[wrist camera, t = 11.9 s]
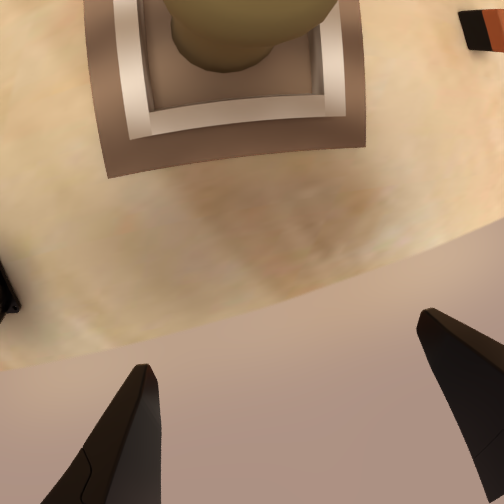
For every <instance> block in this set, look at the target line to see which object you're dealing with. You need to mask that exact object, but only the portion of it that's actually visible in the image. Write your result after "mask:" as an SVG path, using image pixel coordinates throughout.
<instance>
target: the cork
mask: <svg viewBox="0 0 504 504" xmlns="http://www.w3.org/2000/svg"><path fill="white" fill-rule="evenodd" d="M337 1H338V0H163V2H164V3H165V5H166V7H167V9H168V11H169V13H170V15H171V16H172V18H171V23H170V25H171V34H172V40H173V42H174V44H175V45H176V47H177V49H178V51H179V53H180V54H181V55H182V56H183V57H185V58H186V59H187V60H188V61H189V62H190V63H191V64H193V65H195V66H197V67H199V68H202V69H204V70H206V71H212V72H218V73H230V72H239V71H242V70H245V69H247V68H250V67H252V66H255V65H256V64H258V63H259V62H260V61H261V60H263V59H264V58H265V57H266V56H268V55H269V53H270V52H271V50H272V49H273V47H274V46H275V45H277V44H280V43H283V42H286V41H289V40H292V39H295V38H298V37H301V36H303V35H305V34H306V33H307V32H309V31H310V30H312V29H313V28H314V27H316V26H317V25H319V24H320V23H322V22H323V21H324V20H325V18H326V17H327V15H328V14H329V13H330V11H331V10H332V8H333V7H334V6H335V4H336V3H337Z"/></svg>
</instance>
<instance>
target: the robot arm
mask: <svg viewBox="0 0 504 504" xmlns="http://www.w3.org/2000/svg"><path fill="white" fill-rule="evenodd" d="M15 306H16V307H15ZM20 309H21V305H20V303H19V301H18V299H17V297H16V295H15V293H14V291H13V289H12V287H11V285H10V283H9V281H8V278H7V276H6V274H5V272H4V270H3V268H2V265H1V263H0V324H1V322H2V320H3V318H4V317H5V315H6V314H7V313H18V312H19V311H20ZM416 329H417V334H418V337H419V340H420V342H421V344H422V347H423V349H424V352H425V354H426V357H427V360H428V362H429V365H430V367H431V369H432V371H433V373H434V375H435V377H436V379H437V381H438V383H439V385H440V387H441V389H442V391H443V394H444V396H445V397H446V400H447V402H448V404H449V406H450V408H451V410H452V412H453V414H454V417H455V419H456V421H457V423H458V426H459V428H460V430H461V433H462V435H463V437H464V439H465V442H466V444H467V446H468V448H469V451H470V453H471V456H472V459H473V461H474V464H475V467H476V469H477V472H478V474H479V477H480V480H481V482H482V485H483V487H484V490H485V493H486V496H487V498H488V501H489V503H491V502H493V501H494V500H496V499H498V498H499V497H500V496H502V495H504V345H503V344H500V343H499V342H497V341H495V340H493V339H491V338H490V337H488V336H486V335H484V334H482V333H480V332H478V331H476V330H475V329H473V328H471V327H469V326H467V325H465V324H463V323H462V322H459V321H458V320H456V319H454V318H452V317H450V316H448V315H446V314H444V313H442V312H441V311H438V310H437V309H435V308H428V309H425V310H423V311H422V312H421V314H420V317H419V321H418V324H417V328H416ZM41 504H161V416H160V404H159V390H158V382H157V379H156V377H155V375H154V373H153V371H152V369H151V367H150V365H149V364H138V365H136V366H135V367H134V368H133V370H132V371H131V373H130V374H129V376H128V377H127V379H126V380H125V382H124V383H123V385H122V386H121V388H120V389H119V391H118V392H117V394H116V395H115V397H114V398H113V400H112V401H111V403H110V404H109V406H108V407H107V409H106V411H105V412H104V414H103V415H102V417H101V418H100V420H99V421H98V423H97V424H96V426H95V428H94V429H93V431H92V433H91V434H90V436H89V437H88V439H87V440H86V442H85V443H84V445H83V448H81V449H80V451H79V453H78V454H77V456H76V457H75V459H74V460H73V462H72V463H71V465H70V466H69V468H68V469H67V470H66V472H65V473H64V474H63V476H62V477H61V478H60V480H59V481H58V482H57V484H56V485H55V486H54V487H53V489H52V490H51V491H50V492H49V494H48V495H47V496H46V498H45V499H44V500H43V501H42V502H41Z"/></svg>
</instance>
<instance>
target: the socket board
mask: <svg viewBox="0 0 504 504" xmlns="http://www.w3.org/2000/svg"><path fill="white" fill-rule="evenodd" d="M83 1H84V21H85V35H86V47H87V57H88V66H89V74H90V82H91V90H92V96H93V103H94V109H95V116H96V121H97V127H98V133H99V138H100V143H101V148H102V153H103V158H104V163H105V167H106V172H107V176H108V179H109V178H114V177H119V176H124V175H129V174H134V173H139V172H144V171H150V170H155V169H161V168H166V167H172V166H178V165H185V164H191V163H198V162H204V161H212V160H219V159H226V158H234V157H243V156H251V155H261V154H270V153H281V152H292V151H305V150H319V149H336V148H358V147H366V97H365V68H364V50H363V36H362V25H361V14H360V5H359V0H338V1H337V3H336V4H335V6H334V7H333V8H332V10H331V11H330V13H329V14H328V15H327V17H326V18H325V20H324V21H323V22H322V23H320V24H319V25H317V26H316V27H314V28H313V29H312V30H310V31H309V32H307V33H306V34H305V35H303V36H301V37H298V38H295V39H292V40H289V41H286V42H283V43H280V44H277V45H275V46H274V47H273V49H272V50H271V52H270V53H269V55H268V56H266V57H265V58H264V59H263V60H261V61H260V62H259V63H258V64H256V65H255V66H252V67H250V68H247V69H245V70H242V71H239V72H230V73H218V72H212V71H206V70H204V69H202V68H199V67H197V66H195V65H193V64H191V63H190V62H189V61H188V60H187V59H186V58H185V57H183V56H182V55H181V54H180V53H179V51H178V49H177V47H176V45H175V44H174V42H173V40H172V34H171V25H170V23H171V18H172V16H171V15H170V13H169V11H168V9H167V7H166V5H165V3H164V2H163V0H83Z"/></svg>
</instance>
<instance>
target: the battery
mask: <svg viewBox="0 0 504 504" xmlns="http://www.w3.org/2000/svg"><path fill="white" fill-rule="evenodd" d="M459 17H460V20H461V23H462V26H463V30H464V33H465V36H466V40H467V44H468V47H469V49H470V50H480V51H493V52H503V53H504V9H486V10H470V11H460V12H459Z"/></svg>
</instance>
